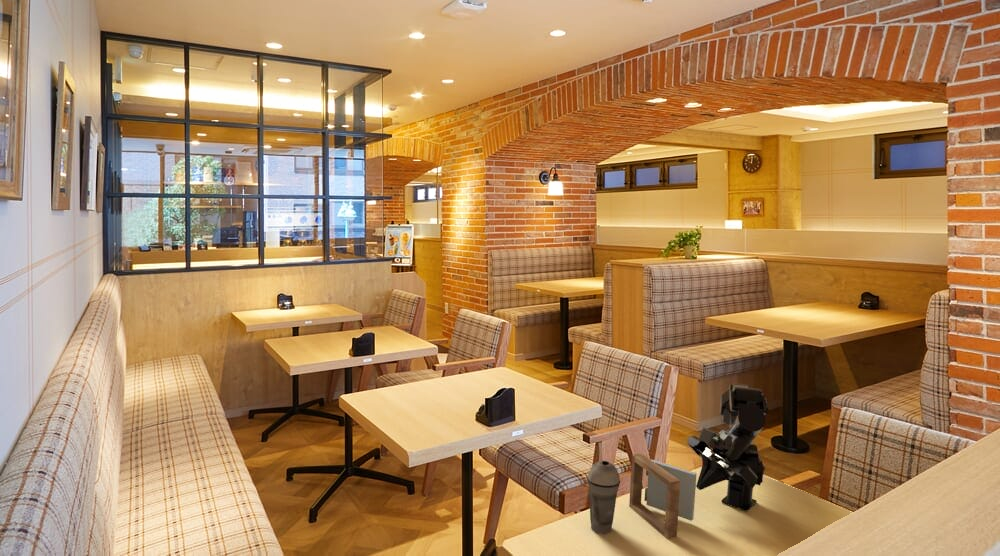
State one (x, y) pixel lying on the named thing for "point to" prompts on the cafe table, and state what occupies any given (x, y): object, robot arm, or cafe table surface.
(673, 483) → the cabinet frame
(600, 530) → the beverage cup
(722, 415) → the robot arm
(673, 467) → the cabinet door
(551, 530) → the cafe table surface
